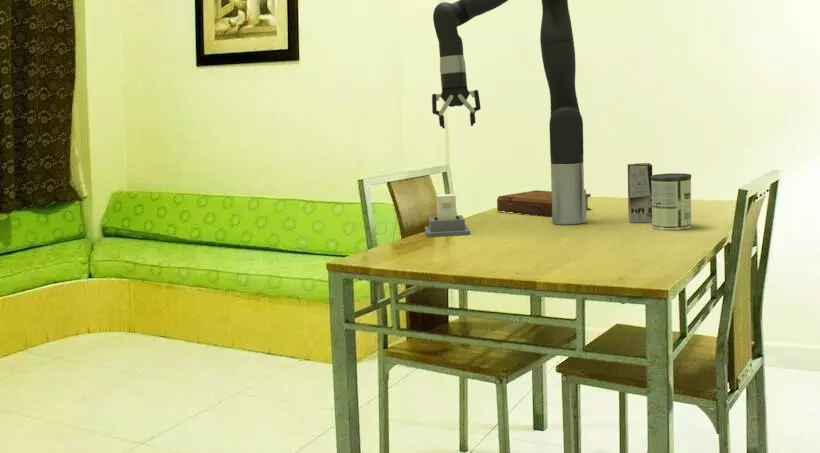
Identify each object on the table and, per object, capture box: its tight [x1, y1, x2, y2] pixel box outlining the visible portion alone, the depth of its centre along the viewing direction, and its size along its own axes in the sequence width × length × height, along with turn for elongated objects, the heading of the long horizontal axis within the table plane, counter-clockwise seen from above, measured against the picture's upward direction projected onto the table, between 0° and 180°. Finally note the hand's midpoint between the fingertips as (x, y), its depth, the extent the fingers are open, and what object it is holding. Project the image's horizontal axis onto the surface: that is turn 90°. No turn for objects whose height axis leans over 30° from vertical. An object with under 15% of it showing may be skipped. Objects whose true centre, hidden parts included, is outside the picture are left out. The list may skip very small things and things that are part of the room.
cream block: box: [435, 193, 457, 220], centre depth 239 cm, size 5×6×10 cm
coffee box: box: [627, 162, 653, 224], centre depth 243 cm, size 9×6×16 cm
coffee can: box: [651, 172, 692, 231], centre depth 228 cm, size 10×10×14 cm
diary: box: [496, 189, 592, 218], centre depth 273 cm, size 23×19×6 cm
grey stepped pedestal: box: [424, 214, 471, 238], centre depth 240 cm, size 12×13×4 cm
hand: (457, 127), depth 254 cm, fingers open, 8 cm apart
